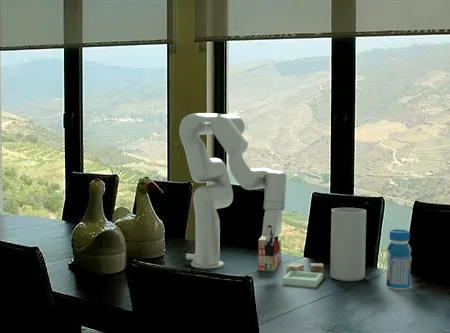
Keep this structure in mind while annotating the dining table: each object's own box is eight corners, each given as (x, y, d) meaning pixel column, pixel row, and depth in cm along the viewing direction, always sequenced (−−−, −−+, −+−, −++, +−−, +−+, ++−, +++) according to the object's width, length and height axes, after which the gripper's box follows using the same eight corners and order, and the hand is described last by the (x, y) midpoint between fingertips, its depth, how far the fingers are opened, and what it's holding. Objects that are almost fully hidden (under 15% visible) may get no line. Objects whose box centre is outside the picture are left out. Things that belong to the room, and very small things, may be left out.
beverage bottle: (396, 291, 245) (398, 233, 243) (380, 286, 252) (382, 229, 251) (415, 289, 249) (417, 231, 247) (399, 283, 256) (401, 228, 255)
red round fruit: (262, 255, 265) (263, 233, 264) (277, 255, 266) (279, 234, 265) (264, 259, 260) (265, 237, 259) (280, 259, 260) (281, 237, 259)
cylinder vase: (368, 275, 268) (369, 209, 266) (359, 283, 257) (361, 213, 255) (335, 272, 273) (337, 207, 271) (326, 279, 262) (327, 211, 260)
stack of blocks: (265, 259, 296) (266, 229, 295) (281, 260, 295) (281, 230, 294) (257, 271, 275) (258, 239, 274) (274, 271, 274) (274, 239, 273)
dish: (282, 284, 254) (282, 277, 254) (290, 277, 265) (290, 270, 265) (316, 287, 250) (316, 280, 250) (322, 279, 261) (322, 273, 261)
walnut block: (311, 278, 265) (311, 265, 264) (310, 275, 269) (310, 263, 269) (323, 278, 264) (323, 266, 264) (322, 275, 269) (322, 263, 268)
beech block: (286, 276, 267) (286, 265, 266) (294, 273, 272) (294, 263, 271) (296, 277, 265) (296, 267, 264) (303, 274, 270) (303, 264, 269)
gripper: (270, 200, 270) (267, 247, 272) (257, 207, 253) (255, 257, 256) (289, 202, 267) (287, 250, 270) (278, 209, 251) (275, 260, 253)
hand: (271, 253), depth 263 cm, fingers closed on red round fruit, 5 cm apart
